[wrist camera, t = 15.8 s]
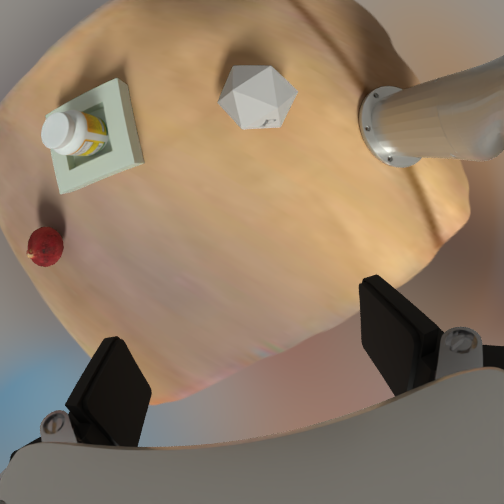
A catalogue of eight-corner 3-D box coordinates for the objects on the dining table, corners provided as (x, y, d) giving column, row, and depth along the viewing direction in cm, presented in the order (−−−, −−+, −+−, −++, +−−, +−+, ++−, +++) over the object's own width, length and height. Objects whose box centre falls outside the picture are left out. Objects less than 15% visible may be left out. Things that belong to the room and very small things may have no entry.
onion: (70, 222, 35) (41, 235, 28) (73, 258, 37) (46, 277, 29) (43, 221, 35) (13, 234, 27) (47, 256, 36) (19, 273, 29)
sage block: (127, 85, 30) (117, 77, 26) (144, 163, 34) (134, 163, 30) (59, 118, 30) (45, 115, 26) (74, 191, 34) (60, 194, 30)
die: (209, 117, 33) (237, 146, 28) (213, 56, 27) (246, 68, 22) (264, 114, 36) (302, 141, 31) (272, 59, 30) (316, 74, 25)
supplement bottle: (103, 159, 31) (65, 159, 22) (73, 152, 30) (31, 152, 21) (115, 120, 30) (79, 108, 21) (83, 114, 29) (44, 104, 20)
